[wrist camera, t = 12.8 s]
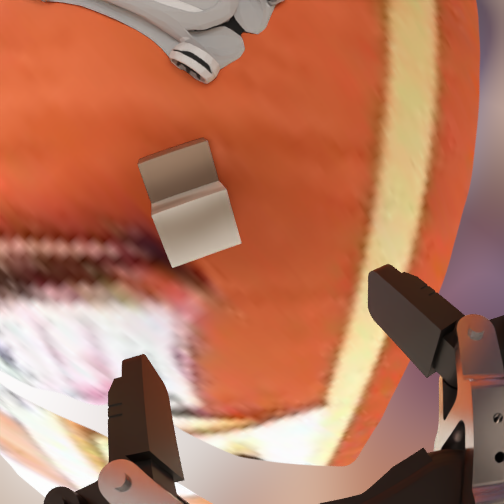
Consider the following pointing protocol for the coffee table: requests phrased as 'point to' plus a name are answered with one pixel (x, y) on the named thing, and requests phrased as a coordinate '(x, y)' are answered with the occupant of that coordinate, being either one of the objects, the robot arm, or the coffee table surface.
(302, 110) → the coffee table surface
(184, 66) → the car model
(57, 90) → the coffee table surface
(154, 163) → the chock
